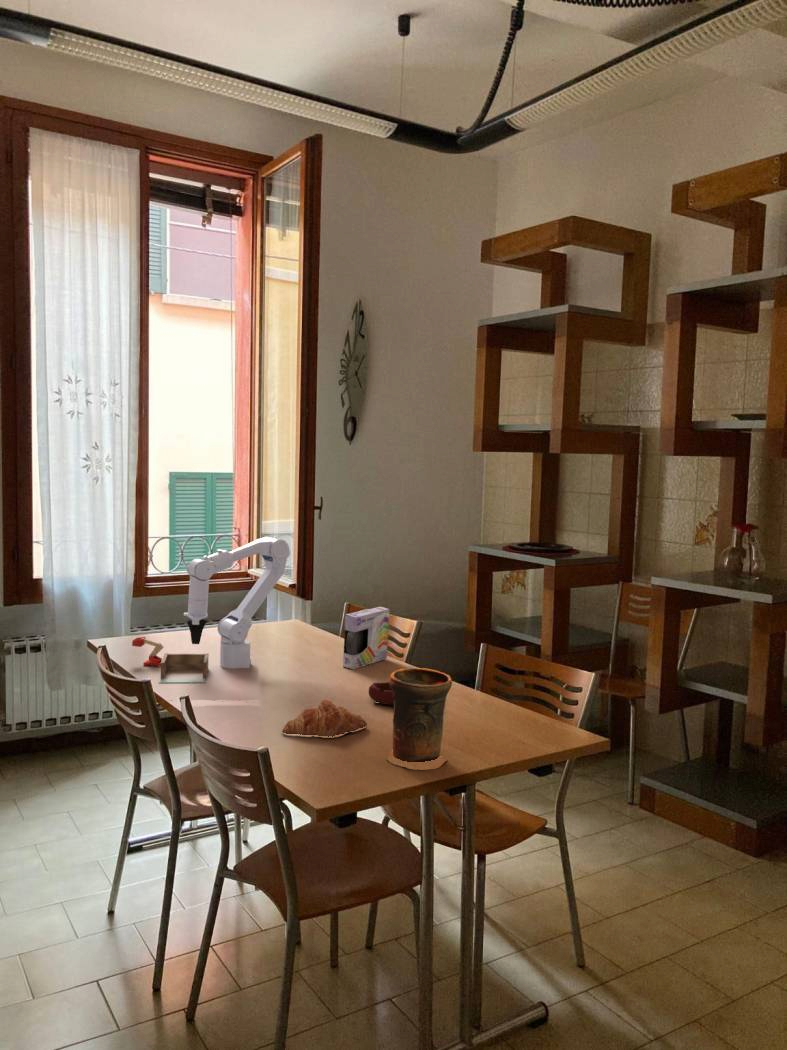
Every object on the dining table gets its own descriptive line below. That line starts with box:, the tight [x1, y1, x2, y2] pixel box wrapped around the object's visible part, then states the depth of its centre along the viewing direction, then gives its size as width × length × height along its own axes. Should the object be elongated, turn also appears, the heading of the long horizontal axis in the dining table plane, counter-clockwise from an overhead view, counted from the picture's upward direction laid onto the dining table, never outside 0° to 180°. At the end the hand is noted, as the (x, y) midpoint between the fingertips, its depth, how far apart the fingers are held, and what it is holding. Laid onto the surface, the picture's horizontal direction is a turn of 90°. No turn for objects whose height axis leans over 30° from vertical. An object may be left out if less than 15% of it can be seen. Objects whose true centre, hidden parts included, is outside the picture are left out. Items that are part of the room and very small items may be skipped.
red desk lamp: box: [131, 636, 164, 668], centre depth 264 cm, size 3×14×10 cm, turn 84°
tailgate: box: [158, 678, 207, 684], centre depth 249 cm, size 13×1×4 cm
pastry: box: [281, 699, 368, 737], centre depth 215 cm, size 17×15×8 cm
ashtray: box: [368, 681, 394, 706], centre depth 243 cm, size 18×16×5 cm
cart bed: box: [160, 653, 209, 680], centre depth 257 cm, size 13×11×6 cm
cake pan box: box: [342, 606, 390, 670], centre depth 281 cm, size 19×5×18 cm, turn 143°
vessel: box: [388, 667, 453, 762], centre depth 198 cm, size 14×14×20 cm
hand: (195, 643), depth 261 cm, fingers closed
